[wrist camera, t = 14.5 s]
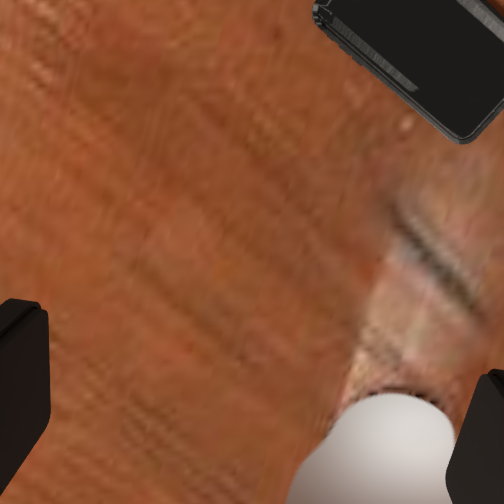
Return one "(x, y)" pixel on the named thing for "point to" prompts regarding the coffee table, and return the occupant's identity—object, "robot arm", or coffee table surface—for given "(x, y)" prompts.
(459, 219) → the coffee table surface
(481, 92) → the phone
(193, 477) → the coffee table surface
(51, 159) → the coffee table surface
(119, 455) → the coffee table surface
